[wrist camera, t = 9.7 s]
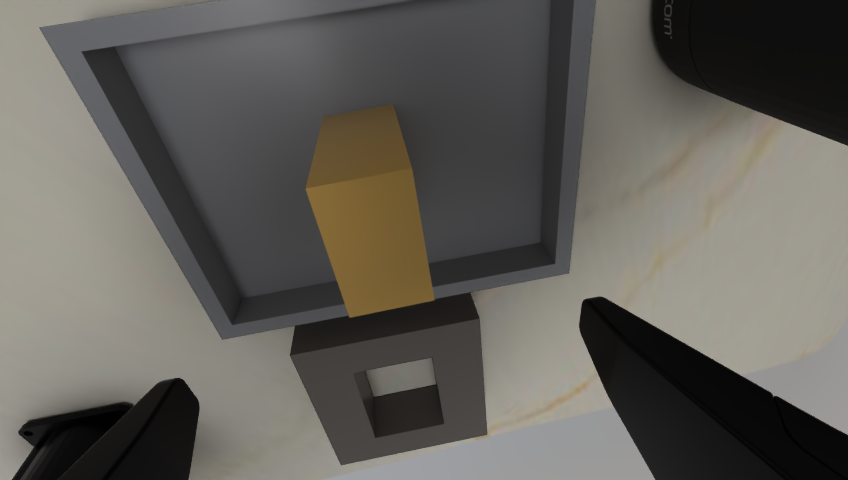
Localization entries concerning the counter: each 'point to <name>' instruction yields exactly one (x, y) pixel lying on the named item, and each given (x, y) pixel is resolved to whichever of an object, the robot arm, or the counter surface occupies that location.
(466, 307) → the gray square frame
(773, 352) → the counter surface
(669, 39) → the pen holder
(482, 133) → the parts tray
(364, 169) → the block
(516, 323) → the counter surface
